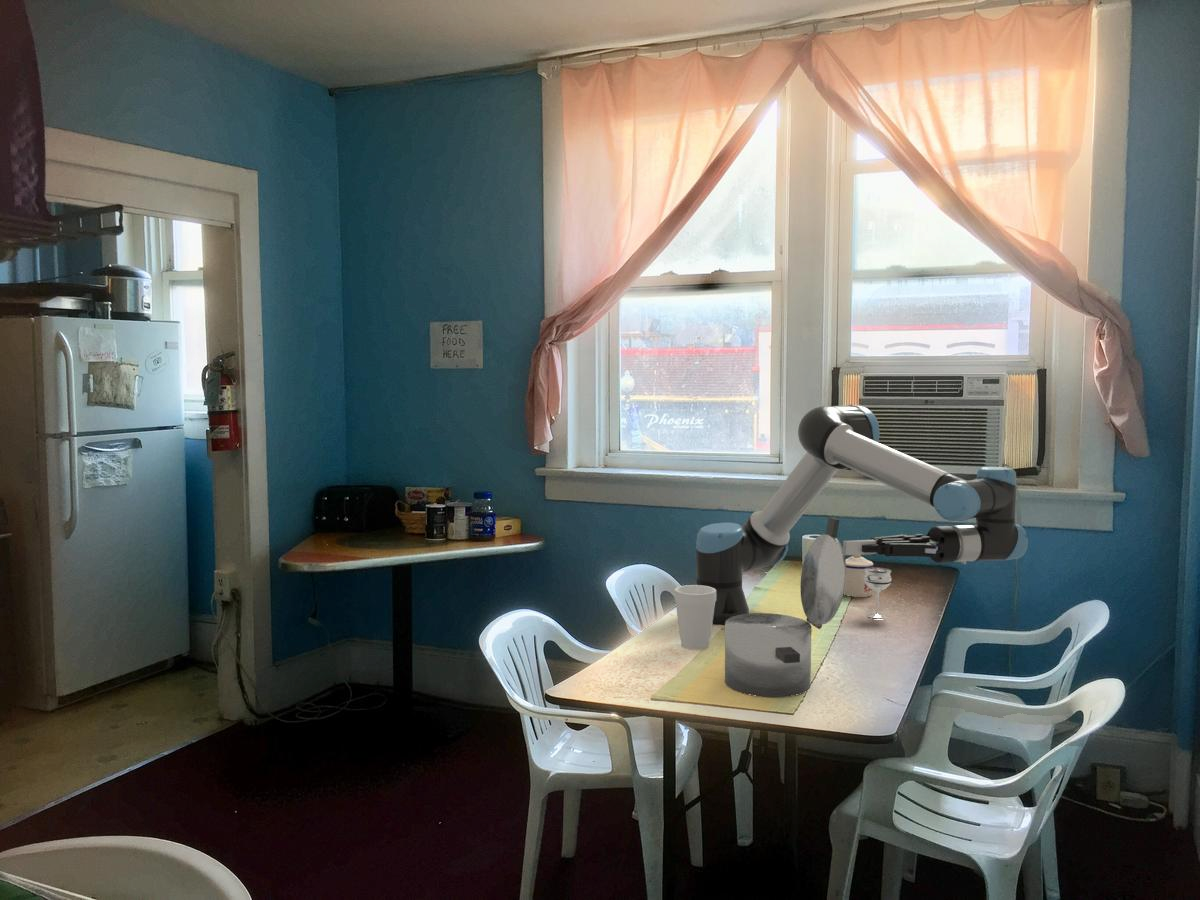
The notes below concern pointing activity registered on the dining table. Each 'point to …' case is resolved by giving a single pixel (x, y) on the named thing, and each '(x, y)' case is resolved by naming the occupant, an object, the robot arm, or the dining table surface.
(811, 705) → the dining table surface
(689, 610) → the foam cup
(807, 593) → the cooker lid
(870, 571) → the wineglass
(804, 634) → the cooker pot
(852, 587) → the teacup with lid
